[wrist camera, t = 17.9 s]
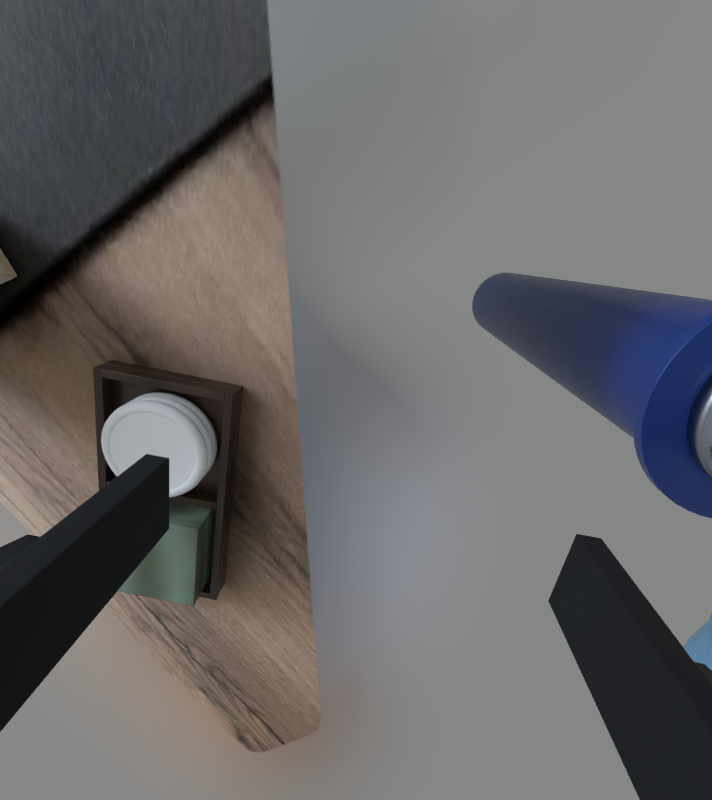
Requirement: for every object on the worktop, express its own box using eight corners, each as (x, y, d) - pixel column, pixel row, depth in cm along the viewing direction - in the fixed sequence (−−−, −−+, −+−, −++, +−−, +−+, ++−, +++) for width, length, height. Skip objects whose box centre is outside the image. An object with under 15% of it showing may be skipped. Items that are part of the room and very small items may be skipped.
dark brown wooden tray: (243, 385, 39) (222, 404, 34) (225, 581, 48) (206, 619, 43) (112, 360, 39) (72, 375, 34) (117, 560, 48) (87, 595, 43)
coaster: (102, 412, 40) (76, 426, 36) (185, 374, 38) (166, 386, 34) (156, 493, 42) (137, 513, 39) (237, 462, 40) (224, 480, 37)
